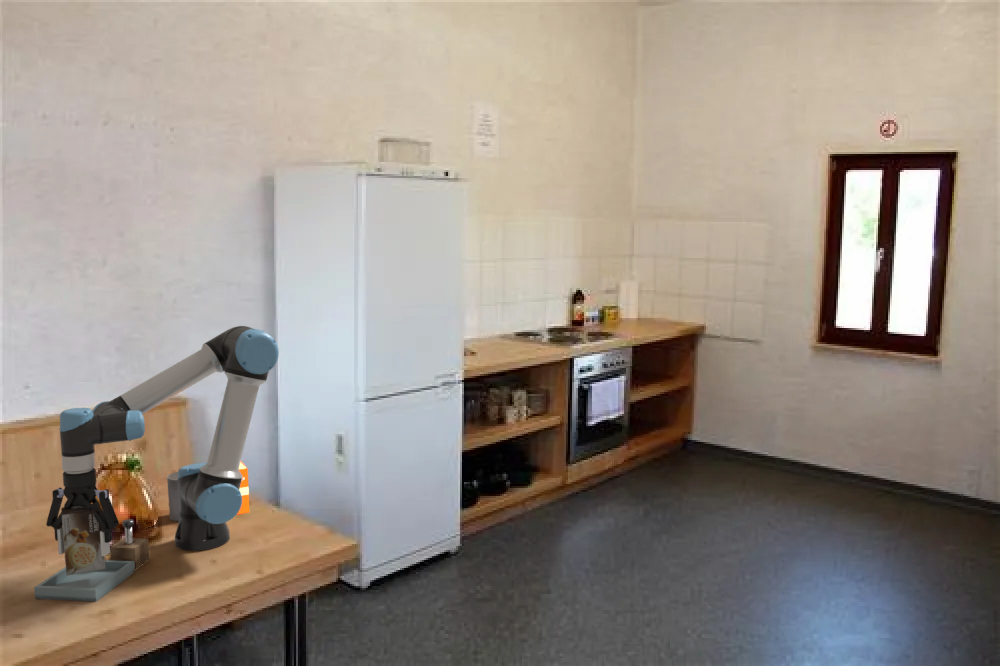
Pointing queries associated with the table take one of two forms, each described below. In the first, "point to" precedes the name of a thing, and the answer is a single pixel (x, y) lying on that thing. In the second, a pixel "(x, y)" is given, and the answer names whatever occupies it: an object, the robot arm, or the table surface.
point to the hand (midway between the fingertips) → (84, 553)
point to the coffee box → (81, 540)
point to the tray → (84, 582)
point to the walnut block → (131, 551)
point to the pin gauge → (128, 531)
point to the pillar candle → (173, 496)
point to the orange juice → (244, 489)
